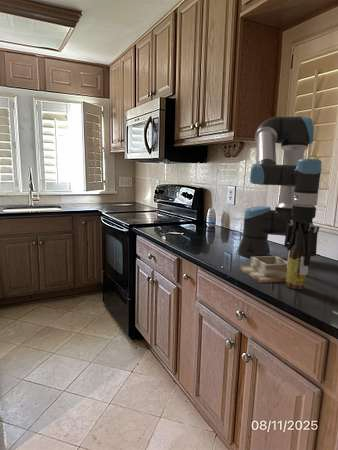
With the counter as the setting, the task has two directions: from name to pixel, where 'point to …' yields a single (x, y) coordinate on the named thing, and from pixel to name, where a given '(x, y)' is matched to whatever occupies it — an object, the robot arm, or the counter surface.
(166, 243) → the counter surface
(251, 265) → the caddy board
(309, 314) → the counter surface
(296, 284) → the sauce bottle
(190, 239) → the counter surface
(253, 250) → the robot arm
